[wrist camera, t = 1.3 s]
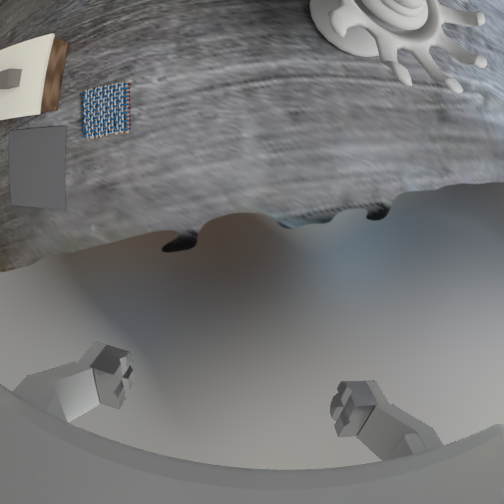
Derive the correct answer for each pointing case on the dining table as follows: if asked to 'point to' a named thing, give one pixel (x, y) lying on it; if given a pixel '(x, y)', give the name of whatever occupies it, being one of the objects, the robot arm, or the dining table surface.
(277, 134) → the dining table surface
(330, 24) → the candelabra
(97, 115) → the woven mat
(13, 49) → the lid
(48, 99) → the walnut box
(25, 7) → the dining table surface
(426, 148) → the dining table surface
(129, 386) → the robot arm
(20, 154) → the rubber mat
